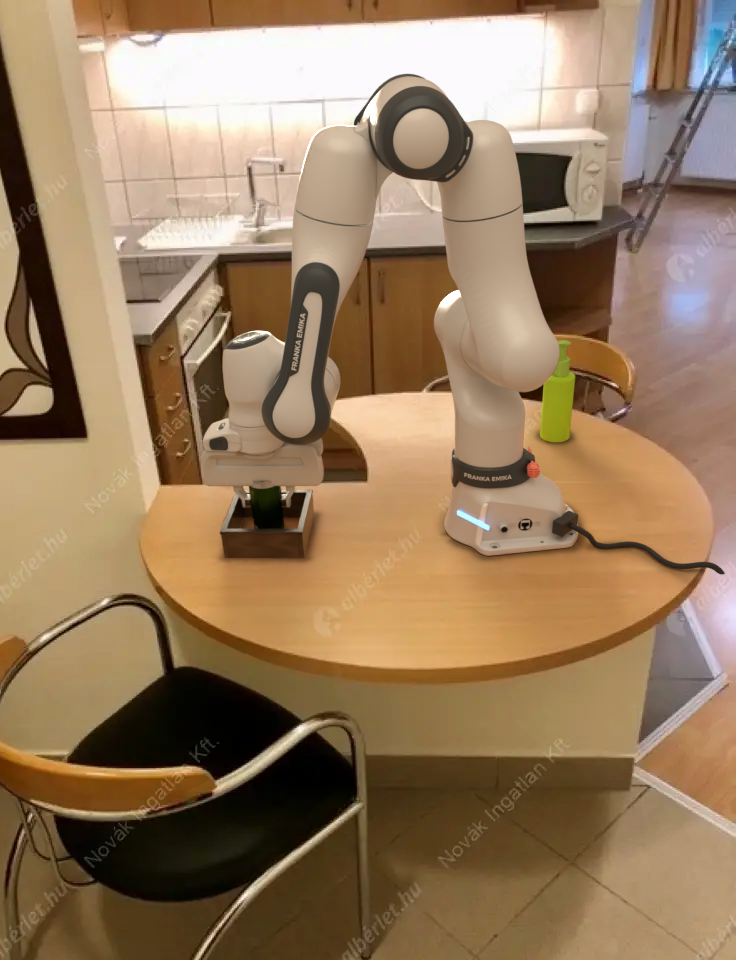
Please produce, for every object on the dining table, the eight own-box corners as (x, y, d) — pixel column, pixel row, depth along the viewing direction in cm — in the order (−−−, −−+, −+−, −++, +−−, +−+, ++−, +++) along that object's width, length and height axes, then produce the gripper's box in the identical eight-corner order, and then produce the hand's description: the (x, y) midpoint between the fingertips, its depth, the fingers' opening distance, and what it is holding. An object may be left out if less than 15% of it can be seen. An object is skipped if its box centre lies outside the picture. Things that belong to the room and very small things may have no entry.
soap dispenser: (529, 433, 176) (536, 340, 165) (560, 427, 177) (568, 334, 166) (544, 445, 171) (551, 349, 160) (574, 439, 172) (584, 344, 162)
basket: (314, 515, 154) (312, 489, 151) (305, 558, 142) (302, 532, 139) (239, 515, 155) (236, 489, 152) (223, 558, 144) (219, 531, 141)
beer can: (264, 548, 146) (257, 486, 139) (249, 534, 149) (241, 474, 143) (291, 537, 148) (285, 476, 141) (276, 524, 152) (269, 464, 145)
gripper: (324, 423, 139) (329, 496, 147) (201, 424, 142) (213, 496, 149) (319, 440, 134) (325, 515, 141) (192, 441, 136) (204, 515, 144)
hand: (266, 505), depth 145 cm, fingers closed on beer can, 5 cm apart
